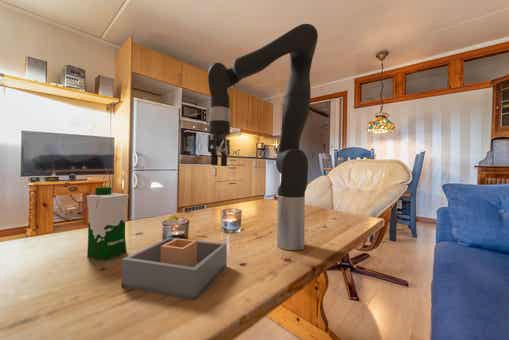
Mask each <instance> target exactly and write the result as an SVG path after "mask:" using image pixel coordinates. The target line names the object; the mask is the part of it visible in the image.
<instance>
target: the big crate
mask: <svg viewBox="0 0 509 340" xmlns="http://www.w3.org/2000/svg"><path fill="white" fill-rule="evenodd" d="M176 238H177V237H167V238H165V239H163V240H161V241H158V242H156V243H155V244H152V245H150V246H148V247H146V248H143V249H141V250H139V251H137V252H134V253H132V254H130V255H128V256H126V257H124V258H122V259H121V285H120V286H121V287H122V288H127V289H130V290H131V289H132V290H138V291H141V292H146V293H147V292H148V293H153V294H158V295H164V296H168V297H174V298H179V299H184V300H188V301H196V300H197V299H198V298H199V297H200V296H201V295H202V294H203V293H204V292H205V291H206V289H207V288H208V287H209V286H210V285H211V284H212V283H213V282H214V281H215V279H216V278H217V277H218V276H219V275H220V274H221V273H222V272H223V270H225V268H226V267H227V263H228V262H227V259H228V258H227V256H228V255H227V254H228V253H227V252H228V248H227V247H228V244H227V243H221V242H214V241H213V242H212V241H203V240H195V241H197V265H196V266H195V267H188V266H181V265H174V264H168V263H161V246H162V245H164V244H166V243H168V242H170V241H172V240H174V239H176ZM185 239H186V238H185ZM186 240H188V239H186Z"/></svg>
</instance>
